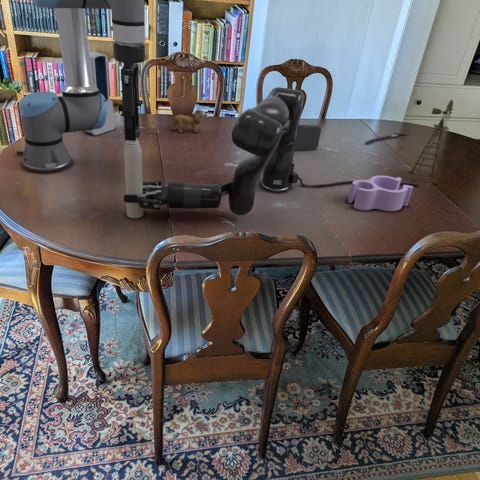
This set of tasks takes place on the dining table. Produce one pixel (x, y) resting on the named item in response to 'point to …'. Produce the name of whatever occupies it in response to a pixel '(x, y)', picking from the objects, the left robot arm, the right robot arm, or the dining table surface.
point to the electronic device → (102, 89)
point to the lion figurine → (189, 120)
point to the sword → (384, 137)
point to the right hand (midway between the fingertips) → (125, 194)
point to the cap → (137, 132)
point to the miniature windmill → (438, 128)
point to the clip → (379, 193)
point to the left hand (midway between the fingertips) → (132, 135)
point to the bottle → (133, 176)
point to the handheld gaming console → (307, 137)
